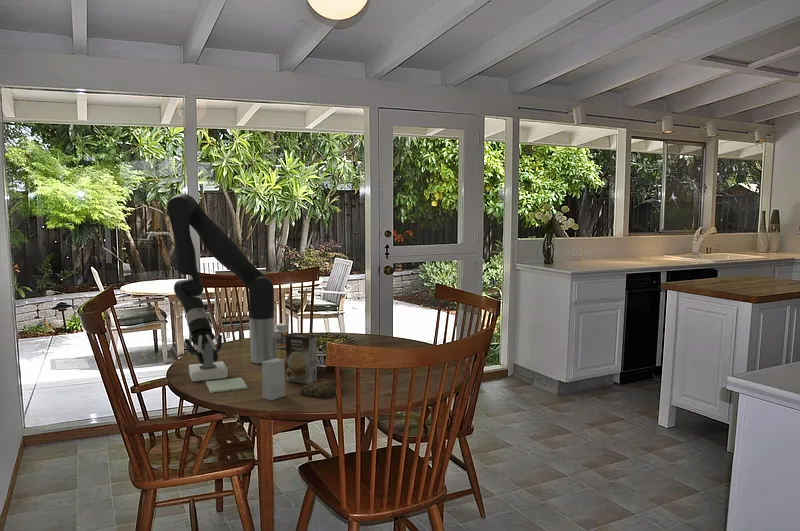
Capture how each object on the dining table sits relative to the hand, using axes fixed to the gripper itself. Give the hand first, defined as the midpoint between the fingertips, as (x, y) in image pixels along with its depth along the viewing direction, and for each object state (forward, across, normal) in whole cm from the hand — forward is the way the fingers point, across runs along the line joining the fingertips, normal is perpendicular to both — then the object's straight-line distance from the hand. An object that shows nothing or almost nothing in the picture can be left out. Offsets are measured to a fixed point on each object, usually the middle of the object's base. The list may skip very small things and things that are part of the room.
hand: (209, 361), depth 217 cm
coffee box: (+20, +25, -12) cm, 34 cm away
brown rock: (+31, +25, -23) cm, 46 cm away
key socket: (+2, 0, +5) cm, 6 cm away
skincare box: (+29, +10, -21) cm, 37 cm away
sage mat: (+14, +1, -6) cm, 15 cm away
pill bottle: (-16, +39, +23) cm, 48 cm away
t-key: (+2, 0, +5) cm, 6 cm away
